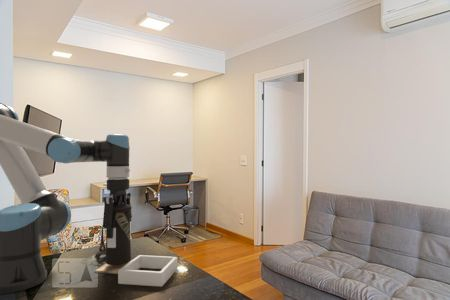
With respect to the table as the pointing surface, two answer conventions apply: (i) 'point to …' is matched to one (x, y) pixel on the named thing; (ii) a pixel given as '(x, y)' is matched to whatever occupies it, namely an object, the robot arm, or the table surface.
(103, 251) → the eiffel tower figurine
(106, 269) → the cork mat
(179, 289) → the table surface
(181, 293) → the table surface
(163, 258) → the frame
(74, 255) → the table surface
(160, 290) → the table surface
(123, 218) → the container
